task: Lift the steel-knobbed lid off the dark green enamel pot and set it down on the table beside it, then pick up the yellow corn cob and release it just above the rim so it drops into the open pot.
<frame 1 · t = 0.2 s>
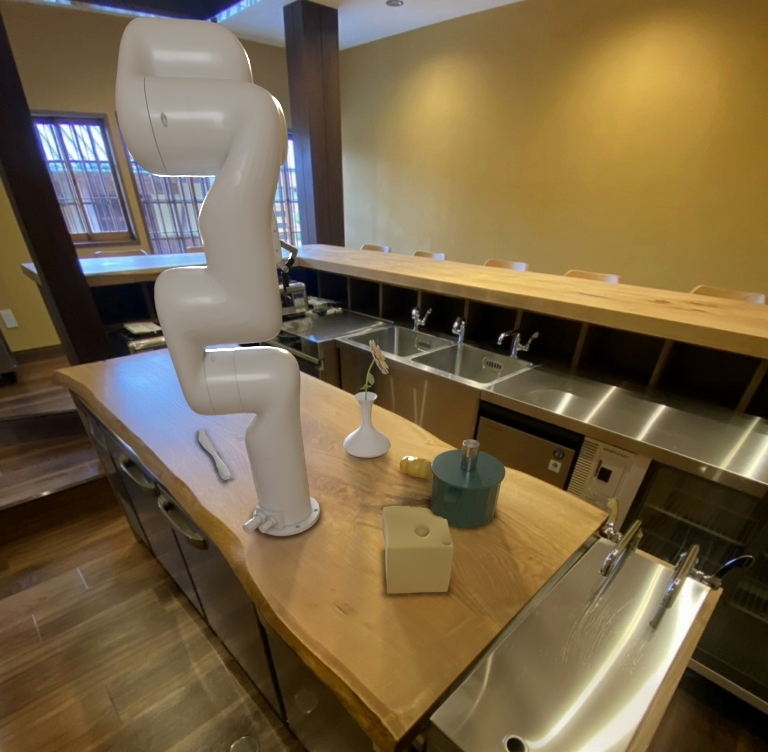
hand: (264, 291, 97), 31 cm above the counter, tool pointing down, fingers open, 9 cm apart
corn: (416, 475, 94), on the counter
cheese: (414, 572, 70), on the counter
lid: (467, 469, 79), point 9 cm above the counter, touching pot
flower in vase: (368, 449, 103), on the counter
pot: (462, 507, 84), on the counter
butter knife: (212, 454, 101), on the counter
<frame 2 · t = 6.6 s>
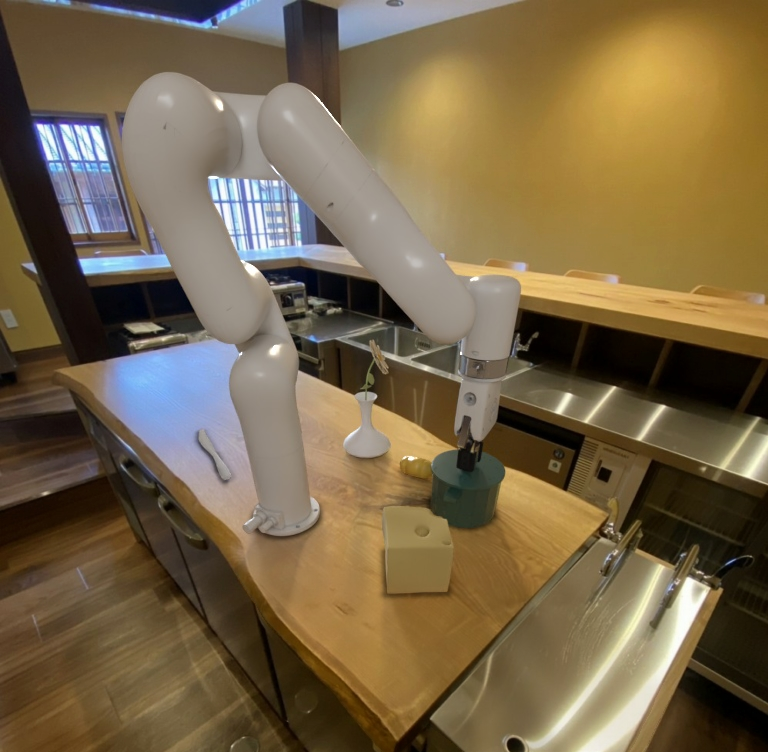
hand: (468, 463, 78), 10 cm above the counter, tool pointing down, fingers closed on lid, 3 cm apart
lid: (467, 469, 79), point 9 cm above the counter, touching gripper, pot
everything else where it was.
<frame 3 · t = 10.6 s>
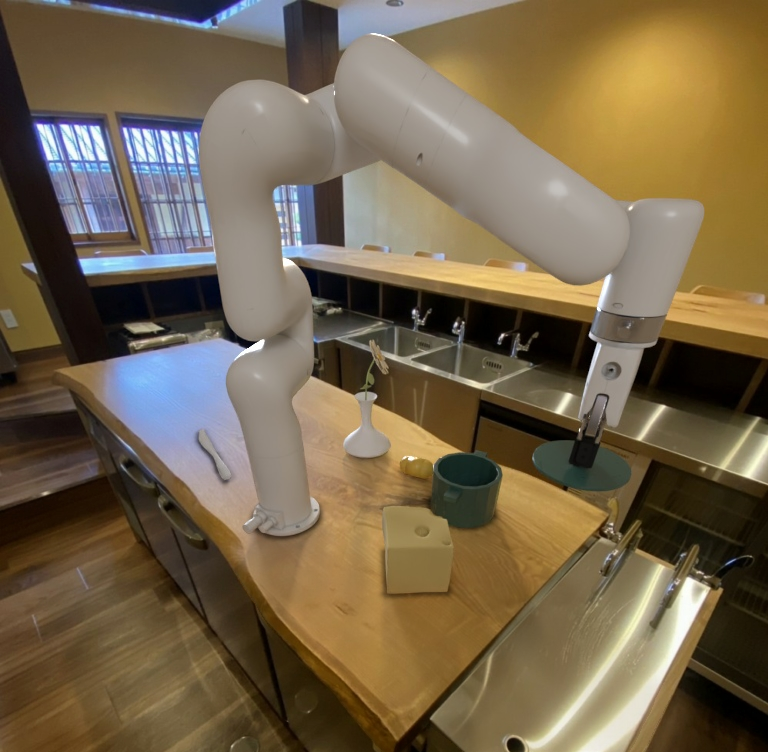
hand: (582, 458, 62), 19 cm above the counter, tool pointing down, fingers closed on lid, 3 cm apart
lid: (579, 465, 63), point 18 cm above the counter, touching gripper
everything else where it was.
when the fingers open (2 cm above the counter, at t = 14.5 s): lid stays where it is, point 1 cm above the counter.
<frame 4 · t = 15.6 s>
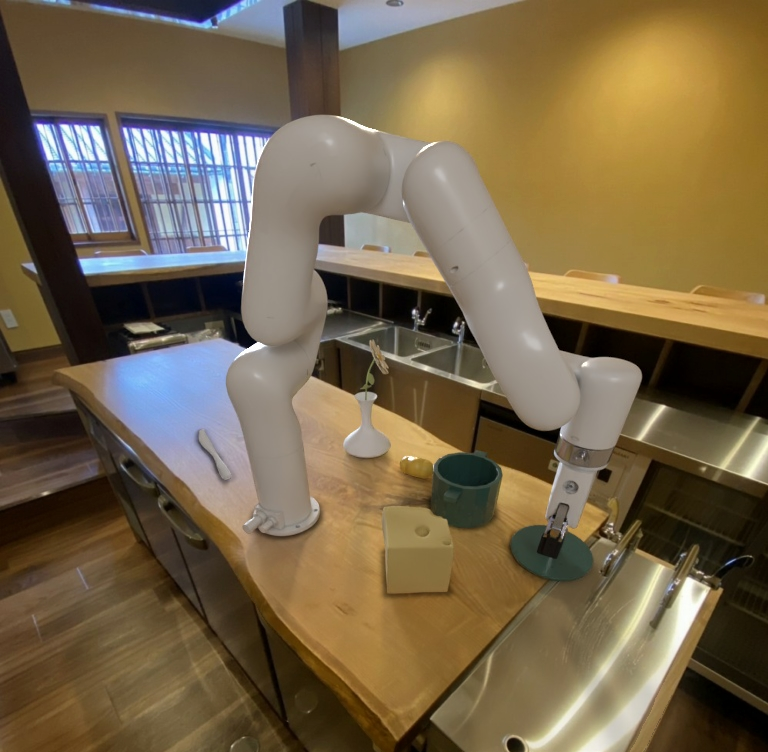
hand: (552, 537, 72), 4 cm above the counter, tool pointing down, fingers open, 9 cm apart
lid: (550, 552, 73), point 1 cm above the counter
everything else where it was.
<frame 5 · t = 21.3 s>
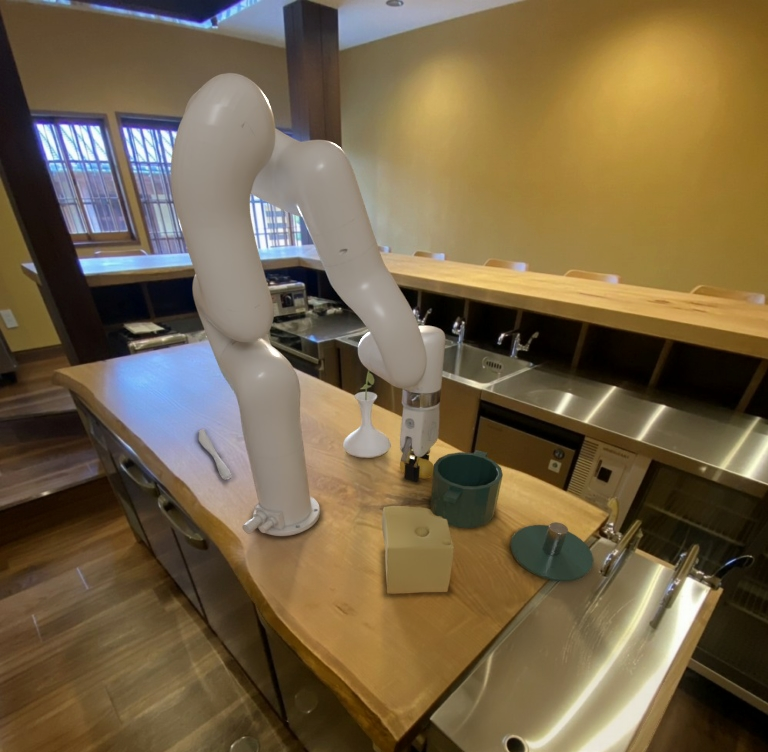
hand: (416, 473, 93), 0 cm above the counter, tool pointing down, fingers closed on corn, 4 cm apart
corn: (416, 475, 94), on the counter, touching gripper
everything else where it was.
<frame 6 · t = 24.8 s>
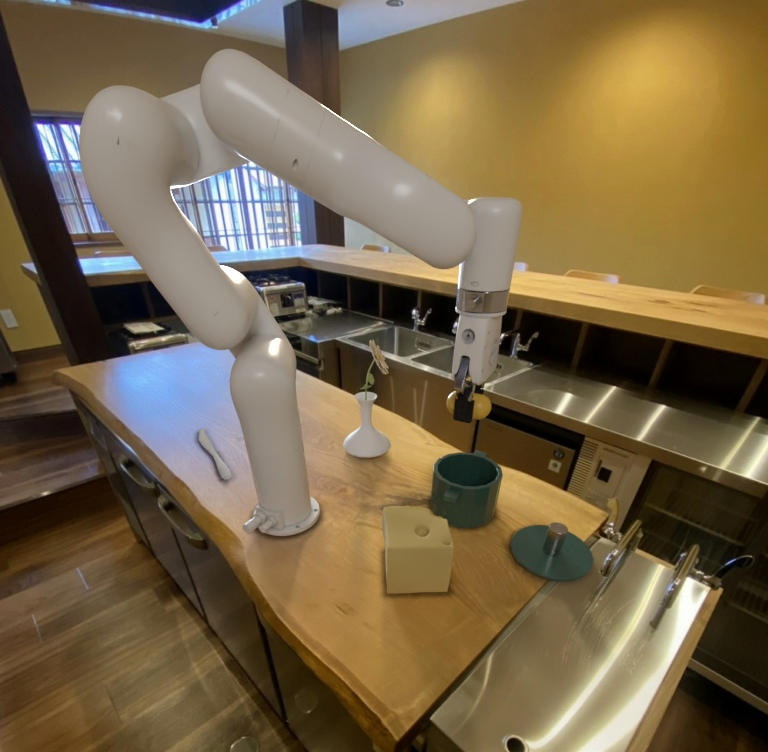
hand: (467, 414, 74), 19 cm above the counter, tool pointing down, fingers closed on corn, 4 cm apart
corn: (467, 416, 74), point 19 cm above the counter, touching gripper
everything else where it was.
when the fingers open (7 cm above the counter, at t = 28.2 s): corn drops 6 cm, resting on pot.
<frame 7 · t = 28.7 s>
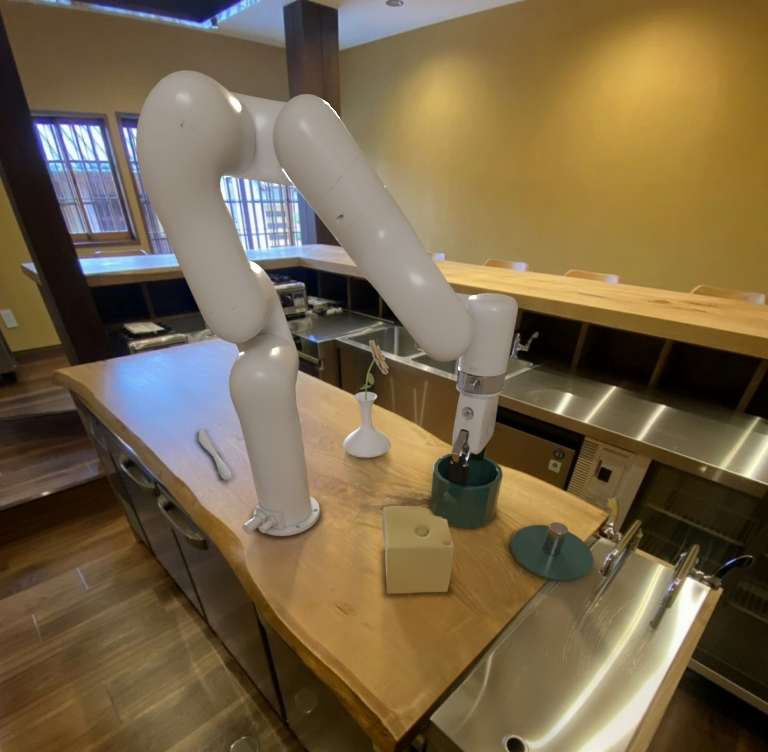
hand: (466, 470, 79), 9 cm above the counter, tool pointing down, fingers open, 9 cm apart
corn: (462, 505, 84), resting on pot
everything else where it was.
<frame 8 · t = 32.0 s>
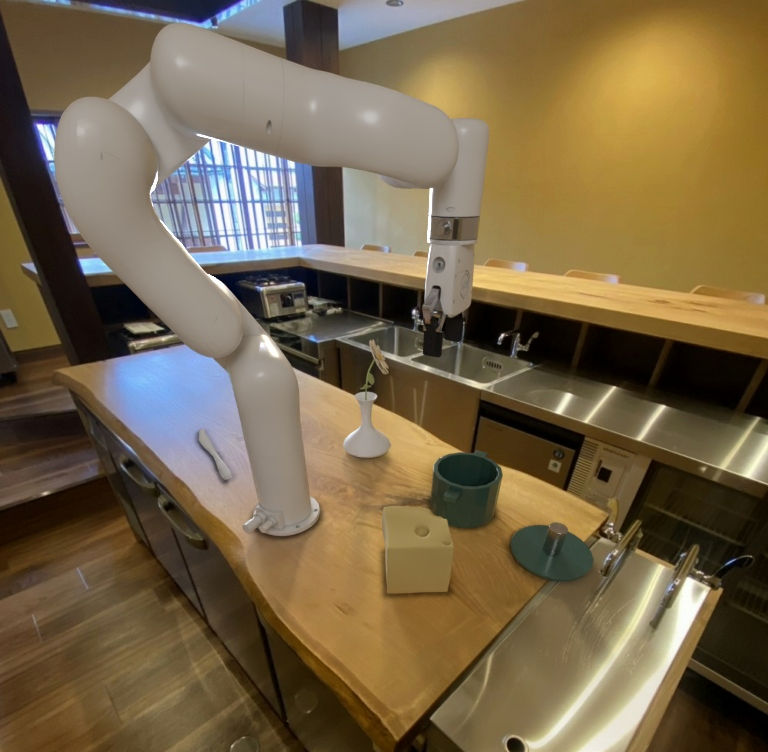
hand: (442, 347, 74), 28 cm above the counter, tool pointing down, fingers open, 9 cm apart
nothing on the counter moved.
at the end: lid point 0.6 cm above the counter; lid tilted 0°; corn inside the target area in the pot (0.0 cm from its centre), point 0.5 cm above the pot's base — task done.
